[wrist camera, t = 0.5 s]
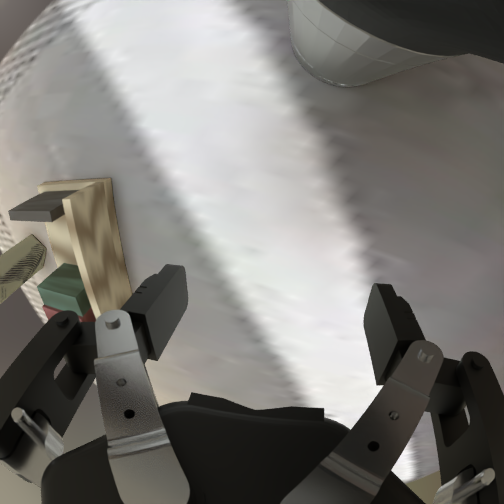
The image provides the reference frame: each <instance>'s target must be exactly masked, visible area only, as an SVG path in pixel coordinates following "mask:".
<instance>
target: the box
mask: <svg viewBox="0 0 504 504" xmlns="http://www.w3.org/2000/svg"><path fill="white" fill-rule="evenodd" d="M45 253H46V248H45V247H44V246H43V245H42V244H41V243H40V242H39V241H38V240H37V239H36V238H35V237H34V236H33V235H30V236H28V237H27V238H25V239H24V240H22V241H21V242H19V243H18V244H17V245H15V246H14V247H12V248H11V249H9V250H8V251H6V252H5V253H4V254H2V255H1V256H0V304H1V303H2V302H3V301H4V300H5V299H7V298H8V297H9V296H10V295H11V294H12V293H13V292H14V291H15V290H17V289H18V288H19V287H20V286H21V285H22V284H23V283H25V282H26V281H27V280H28V279H29V278H31V277H32V276H33V275H34V274H35V273H37V272H38V271H39V270H40V269H42V268H43V264H44V259H45Z"/></svg>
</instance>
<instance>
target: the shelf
mask: <svg viewBox="0 0 504 504" xmlns="http://www.w3.org/2000/svg"><path fill="white" fill-rule="evenodd" d="M38 192H39V195H37V196H35V197H33V198H31V199H29V200H27V201H25V202H24V203H22V204H20V205H18V206H16V207H15V208H13V209H11V210H9V211H8V212H9V216H10V220H17V221H37V222H45V225H46V229H47V233H48V237H49V240H50V244H51V247H52V251H53V254H54V258H55V261H56V264H57V267H58V268H57V269H56V270H55V271H54V272H53V273H52V274H51V275H49V276H48V277H47V278H46V279H45V280H44V281H43V282H42V283H41V284H39V285H38V286H37V288H38V291H39V293H40V295H41V298H42V300H43V303H44V305H43V306H42V307H43V309H44V311H45V314H46V316H47V318H48V320H49V319H50V318H51V317H52V316H53V315H55V314H56V313H58V312H61V311H65V310H71V311H74V312H76V313H77V315H78V317H79V320H80V322H96V320H97V318H98V317H99V316H100V315H101V314H103V313H105V312H107V311H110V310H120V309H121V307H122V306H123V305H124V304H125V303H126V301H127V300H128V299H129V298H130V297H131V296H132V291H131V287H130V283H129V279H128V274H127V270H126V265H125V261H124V256H123V251H122V246H121V241H120V236H119V230H118V225H117V219H116V212H115V206H114V199H113V192H112V184H111V178H103V179H84V180H69V181H56V182H45V183H42V184H40V185H38Z"/></svg>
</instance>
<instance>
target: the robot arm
mask: <svg viewBox="0 0 504 504" xmlns="http://www.w3.org/2000/svg"><path fill="white" fill-rule="evenodd" d="M287 4H288V13H289V23H290V36H291V44H292V48H293V52H294V54H295V56H296V58H297V60H298V61H299V63H300V64H301V65H302V67H303V68H304V69H305V70H307V71H308V72H309V73H310V74H311V75H312V76H314V77H316V78H317V79H319V80H321V81H323V82H325V83H328V84H330V85H335V86H339V87H355V86H361V85H365V84H368V83H369V82H372V81H375V80H378V79H381V78H384V77H387V76H390V75H393V74H396V73H399V72H402V71H405V70H408V69H412V68H415V67H418V66H422V65H425V64H429V63H432V62H435V61H439V60H443V59H447V58H451V57H455V56H459V55H463V54H468V53H470V54H474V55H478V56H481V57H485V58H488V59H491V60H494V61H497V62H501V63H504V0H287ZM187 305H188V291H187V282H186V272H185V268H184V266H180V265H170V264H166V265H165V266H164V268H163V269H162V270H161V271H160V272H159V273H158V274H154V275H152V276H150V277H149V278H147V279H145V280H144V282H143V283H142V284H141V285H140V287H138V289H137V290H136V291H135V293H133V294H132V296H131V297H130V298H129V299H128V300H127V301H126V303H125V304H124V305H123V306H122V307H121V309H120V310H110V311H107V312H105V313H103V314H101V315H100V316H99V317H98V318H97V320H96V322H80V320H79V317H78V315H77V313H76V312H74V311H71V310H65V311H61V312H58V313H56V314H55V315H53V316H52V317H51V318H50V319H49V320H48V322H47V323H46V324H45V325H44V326H43V327H42V328H41V329H40V331H39V332H38V333H37V334H36V335H35V336H34V338H33V339H32V340H31V341H30V342H29V343H28V345H27V346H26V347H25V348H24V350H23V351H22V352H21V353H20V354H19V356H18V357H17V358H16V359H15V361H14V362H13V363H12V364H11V366H10V367H9V368H8V369H7V371H6V372H5V374H4V375H3V376H2V377H1V379H0V463H1V464H2V465H3V466H5V467H6V468H7V469H8V470H10V471H11V472H13V473H15V474H17V475H18V476H19V477H21V478H22V479H24V480H25V481H27V482H30V483H34V484H35V485H37V486H38V487H40V488H41V498H42V504H425V503H424V502H423V501H422V500H421V499H420V498H419V497H418V496H417V495H416V494H415V493H414V492H413V491H412V490H410V488H409V487H407V486H406V485H405V484H404V483H403V482H402V481H401V480H400V479H399V478H398V477H397V476H396V475H395V474H394V473H393V472H392V471H391V469H392V468H393V466H394V465H395V463H396V462H397V460H398V458H399V457H400V455H401V454H402V452H403V450H404V448H405V447H406V445H407V443H408V442H409V440H410V438H411V436H412V434H413V433H414V431H415V429H416V427H417V425H418V423H419V421H420V419H421V417H422V415H423V413H424V411H426V412H430V413H431V418H432V423H433V428H434V433H435V439H436V445H437V452H438V458H439V466H440V474H441V484H442V487H441V488H440V489H439V490H438V491H437V493H436V495H435V499H434V503H433V504H504V395H503V392H502V390H501V387H500V385H499V383H498V380H497V378H496V376H495V373H494V371H493V369H492V367H491V365H490V363H489V361H488V360H487V358H486V357H484V356H483V355H482V354H480V353H478V352H473V351H471V352H467V353H465V354H464V356H463V357H462V359H461V361H457V360H453V359H448V358H444V357H443V353H442V351H441V349H440V348H439V347H438V346H437V345H435V344H434V343H432V342H429V341H426V339H425V337H424V335H423V333H422V330H421V328H420V326H419V324H418V322H417V320H416V318H415V315H414V313H413V311H412V309H411V307H410V305H409V303H407V302H406V301H405V300H404V299H403V298H402V297H401V296H397V295H396V293H395V291H394V289H393V287H392V285H391V284H378V283H374V284H373V286H372V289H371V293H370V296H369V300H368V303H367V307H366V310H365V314H364V330H365V334H366V338H367V343H368V347H369V351H370V356H371V360H372V365H373V370H374V375H375V380H376V385H384V386H383V387H382V389H381V390H380V392H379V393H378V395H377V396H376V397H375V399H374V400H373V402H372V403H371V404H370V406H369V407H368V408H367V410H366V411H365V412H364V414H363V415H362V416H361V418H360V419H359V420H358V421H357V423H356V424H355V425H354V427H353V428H352V429H351V430H350V429H349V428H347V427H346V426H344V425H343V424H341V423H338V422H336V421H334V420H331V419H328V418H324V408H307V407H292V406H291V407H283V408H275V409H265V410H254V409H250V408H248V407H245V406H242V405H239V404H237V403H234V402H231V401H229V400H226V399H224V398H219V397H213V396H208V395H203V394H198V393H193V392H192V393H191V395H190V398H189V400H188V401H179V402H173V403H168V404H165V405H162V406H160V407H159V404H158V402H157V399H156V396H155V394H154V391H153V388H152V385H151V382H150V379H149V376H148V373H147V370H146V367H145V362H146V360H147V359H151V360H155V361H158V359H159V358H160V356H161V354H162V352H163V350H164V348H165V347H166V345H167V343H168V341H169V339H170V337H171V336H172V334H173V332H174V330H175V328H176V327H177V325H178V323H179V321H180V319H181V318H182V316H183V314H184V312H185V311H186V308H187ZM62 358H64V359H65V361H66V364H65V366H64V367H63V369H62V370H61V372H60V373H59V375H58V376H57V378H56V379H55V380H54V370H55V368H56V367H57V365H58V364H59V362H60V361H61V360H62ZM95 378H96V382H97V388H98V395H99V401H100V407H101V413H102V417H103V423H104V427H105V431H106V434H105V435H103V436H102V437H99V438H97V439H96V440H93V441H91V442H89V443H87V444H85V445H83V446H80V447H78V448H76V449H74V450H71V451H69V452H67V453H65V454H64V452H63V440H62V437H63V435H64V433H65V431H66V430H67V428H68V426H69V424H70V422H71V420H72V418H73V416H74V414H75V413H76V411H77V409H78V407H79V405H80V404H81V402H82V400H83V398H84V397H85V395H86V393H87V391H88V390H89V388H90V386H91V385H92V383H93V381H94V379H95ZM466 405H467V409H468V412H469V415H470V424H468V420H467V417H466V413H465V410H464V408H465V407H466Z"/></svg>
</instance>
